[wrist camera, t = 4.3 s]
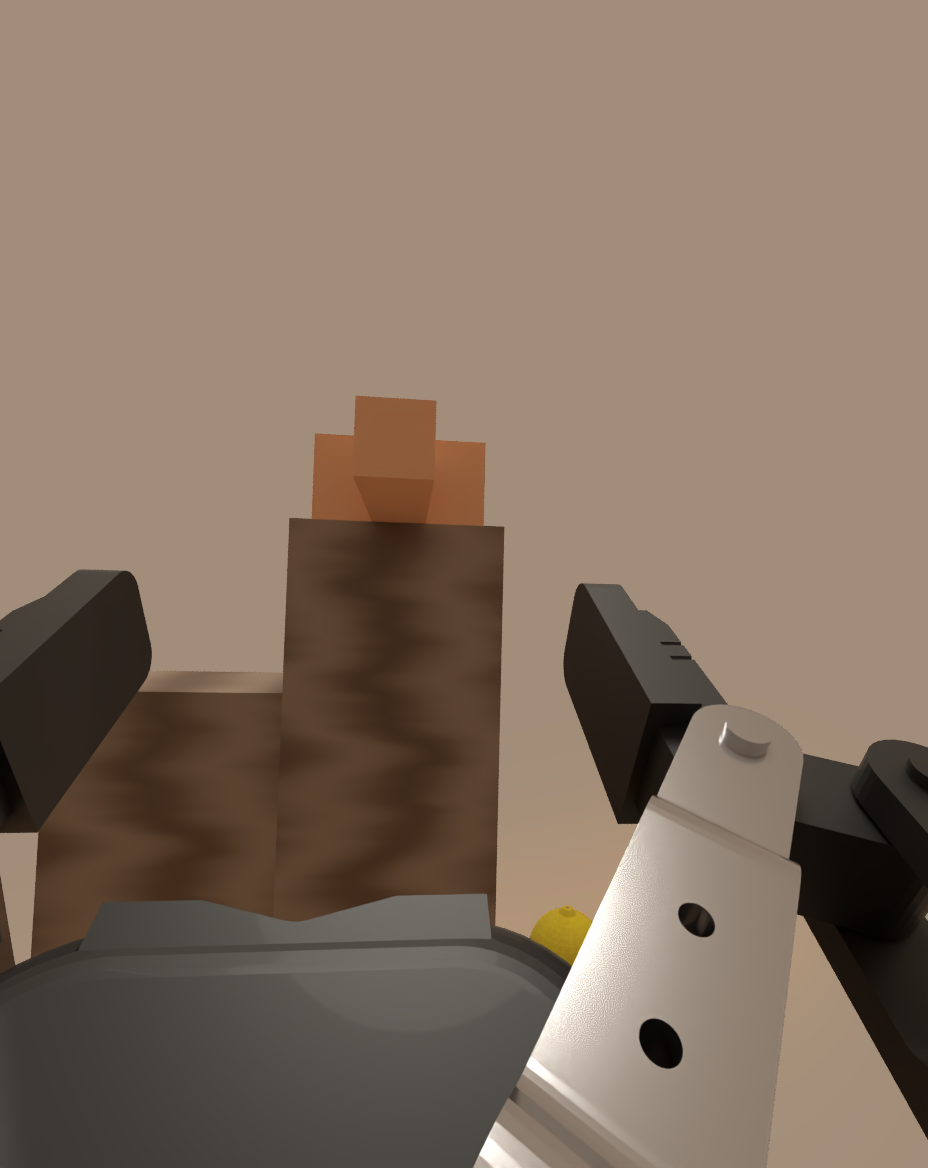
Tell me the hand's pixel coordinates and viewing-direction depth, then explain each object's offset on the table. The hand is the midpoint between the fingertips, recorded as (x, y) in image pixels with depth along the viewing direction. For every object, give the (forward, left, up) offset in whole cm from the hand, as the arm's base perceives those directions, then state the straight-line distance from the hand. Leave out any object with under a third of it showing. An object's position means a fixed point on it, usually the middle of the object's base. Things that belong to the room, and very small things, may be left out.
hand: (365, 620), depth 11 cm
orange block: (0, +15, +4) cm, 16 cm away
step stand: (-5, +20, -28) cm, 34 cm away
